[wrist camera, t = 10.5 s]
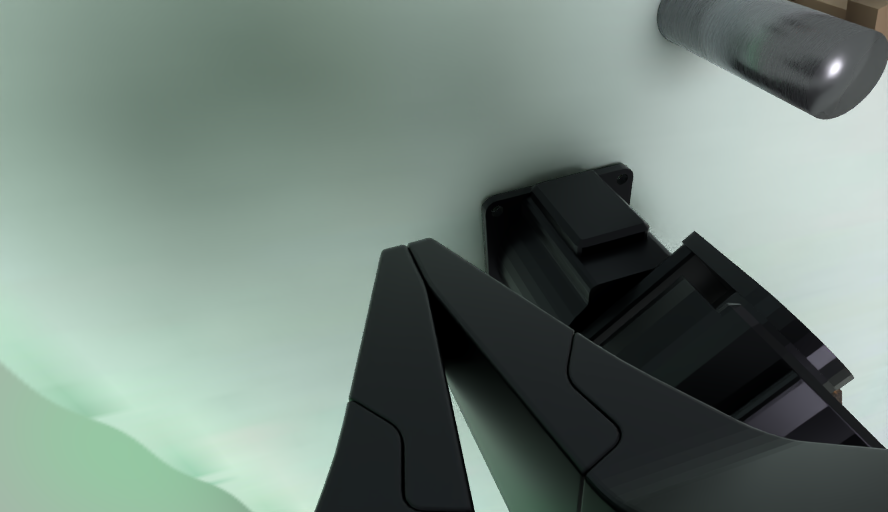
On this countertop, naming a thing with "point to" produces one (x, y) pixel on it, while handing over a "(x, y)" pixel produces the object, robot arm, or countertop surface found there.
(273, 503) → the countertop surface
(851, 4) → the brown long plank slab
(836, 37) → the hinge post
